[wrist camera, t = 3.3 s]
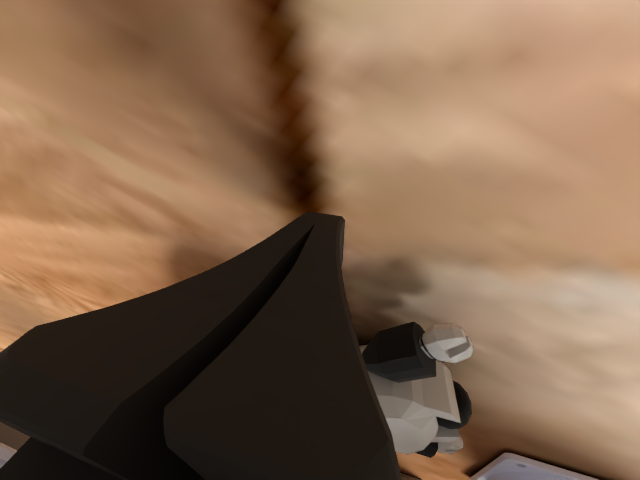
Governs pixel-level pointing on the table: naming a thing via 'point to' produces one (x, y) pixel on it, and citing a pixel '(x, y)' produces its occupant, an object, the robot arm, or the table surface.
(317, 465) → the robot arm
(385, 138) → the table surface
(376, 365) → the robot toy
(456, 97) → the table surface
